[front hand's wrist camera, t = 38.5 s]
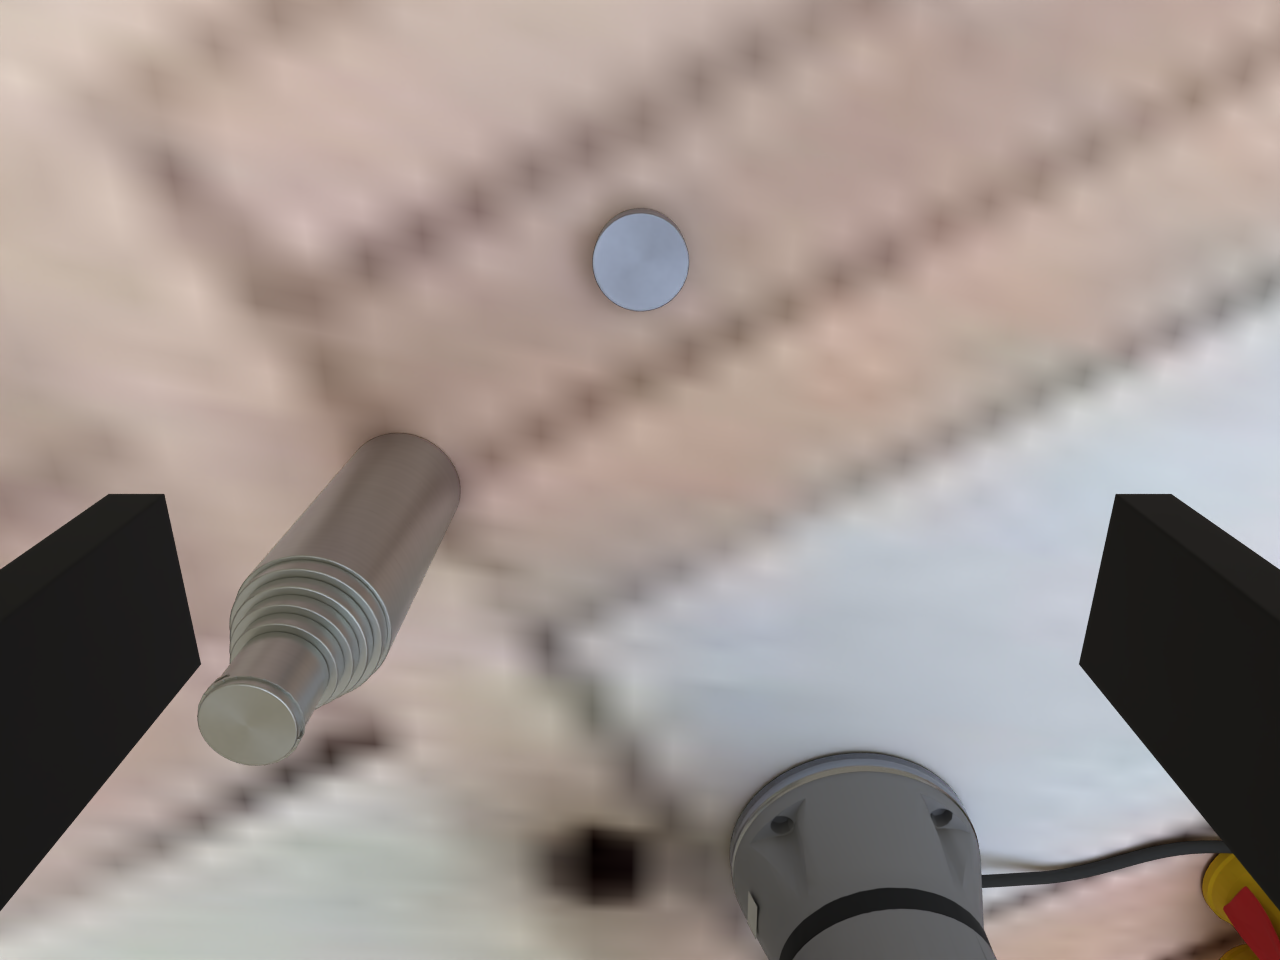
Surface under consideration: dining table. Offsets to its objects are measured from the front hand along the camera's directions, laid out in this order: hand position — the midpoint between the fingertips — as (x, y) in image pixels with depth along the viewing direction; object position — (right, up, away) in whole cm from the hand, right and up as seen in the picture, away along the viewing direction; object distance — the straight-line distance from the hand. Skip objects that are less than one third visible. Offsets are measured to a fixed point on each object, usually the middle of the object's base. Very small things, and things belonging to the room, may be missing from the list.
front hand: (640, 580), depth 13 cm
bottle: (-13, +1, +35) cm, 37 cm away
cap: (0, +11, +28) cm, 31 cm away
